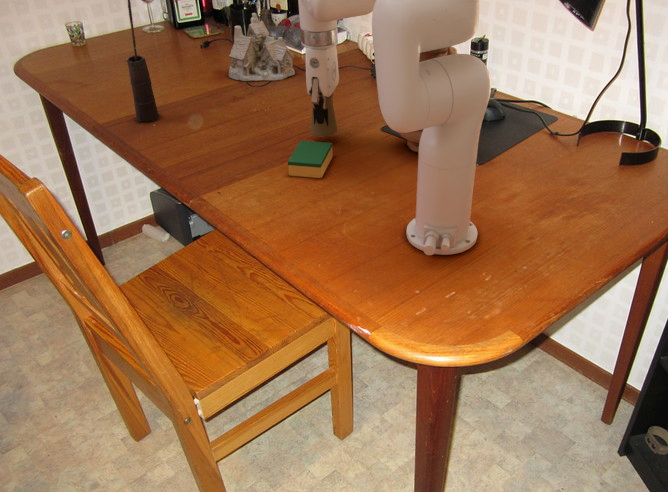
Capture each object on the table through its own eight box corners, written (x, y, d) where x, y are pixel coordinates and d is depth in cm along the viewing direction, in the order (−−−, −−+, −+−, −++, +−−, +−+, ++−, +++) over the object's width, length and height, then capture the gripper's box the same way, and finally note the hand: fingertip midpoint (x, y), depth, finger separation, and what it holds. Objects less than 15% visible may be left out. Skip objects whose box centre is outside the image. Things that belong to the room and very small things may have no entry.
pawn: (305, 133, 143) (301, 84, 136) (319, 123, 148) (316, 75, 141) (328, 138, 141) (326, 89, 134) (342, 128, 145) (340, 79, 138)
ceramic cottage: (221, 72, 180) (216, 16, 171) (269, 61, 189) (267, 7, 179) (253, 91, 172) (250, 33, 162) (302, 78, 181) (302, 23, 171)
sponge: (321, 178, 133) (320, 164, 131) (288, 175, 134) (287, 161, 132) (332, 156, 140) (332, 142, 138) (301, 154, 141) (300, 140, 139)
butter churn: (135, 131, 151) (103, 4, 134) (118, 119, 157) (85, -5, 139) (171, 121, 156) (144, -4, 138) (154, 109, 161) (126, -12, 144)
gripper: (327, 50, 125) (331, 138, 136) (346, 24, 137) (348, 107, 149) (290, 48, 126) (297, 136, 137) (312, 23, 138) (317, 105, 150)
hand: (323, 120), depth 143 cm, fingers closed on pawn, 3 cm apart
